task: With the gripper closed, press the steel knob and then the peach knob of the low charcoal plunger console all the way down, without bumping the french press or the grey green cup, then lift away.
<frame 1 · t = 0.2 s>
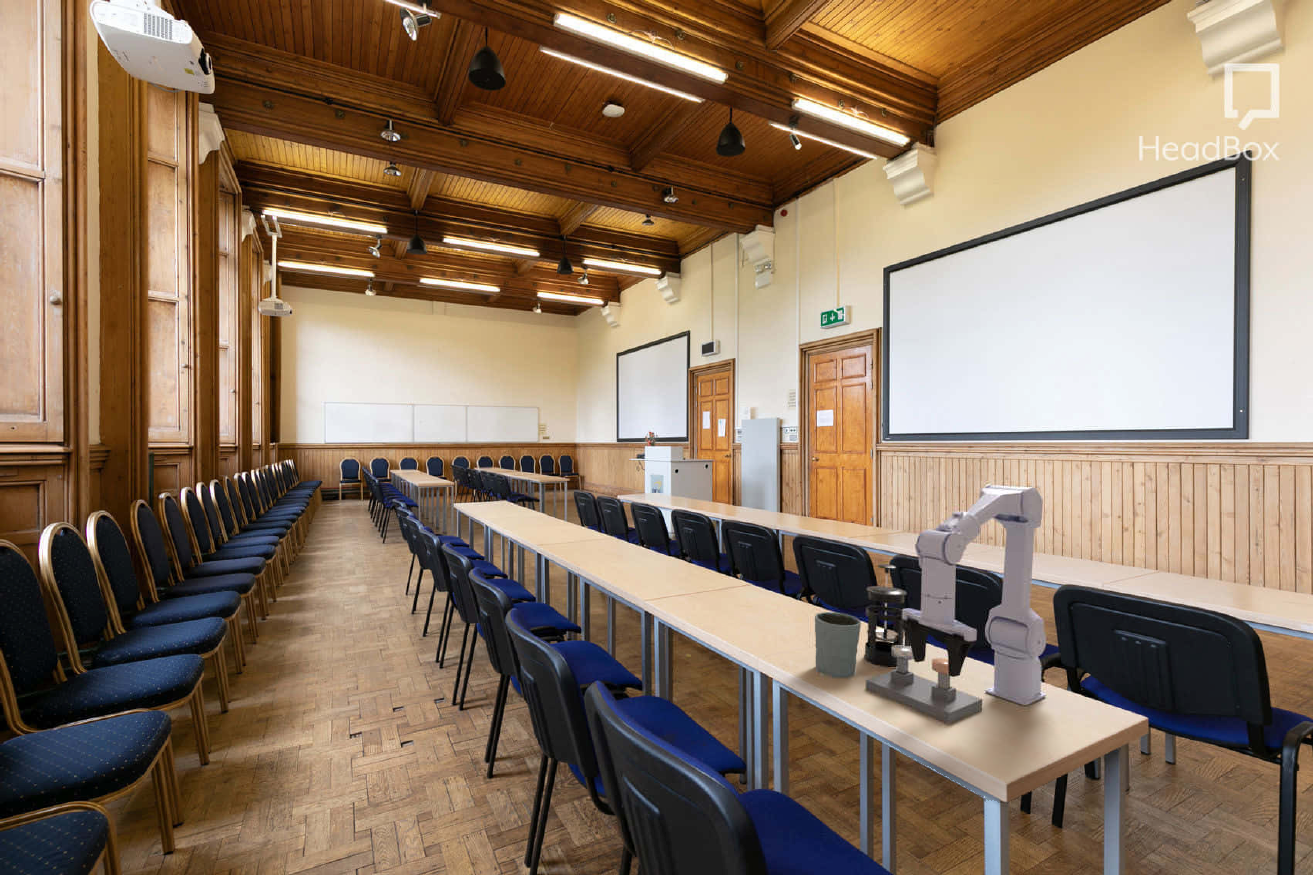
hand: (936, 668, 110), 10 cm above the table, tool pointing down, fingers open, 7 cm apart
french press: (886, 662, 142), on the table
grey green cup: (836, 671, 134), on the table
peach knob: (944, 676, 117), point 6 cm above the table, slide at 3.0 cm
steel plunger: (902, 661, 124), point 6 cm above the table, slide at 3.0 cm
console: (921, 698, 120), on the table
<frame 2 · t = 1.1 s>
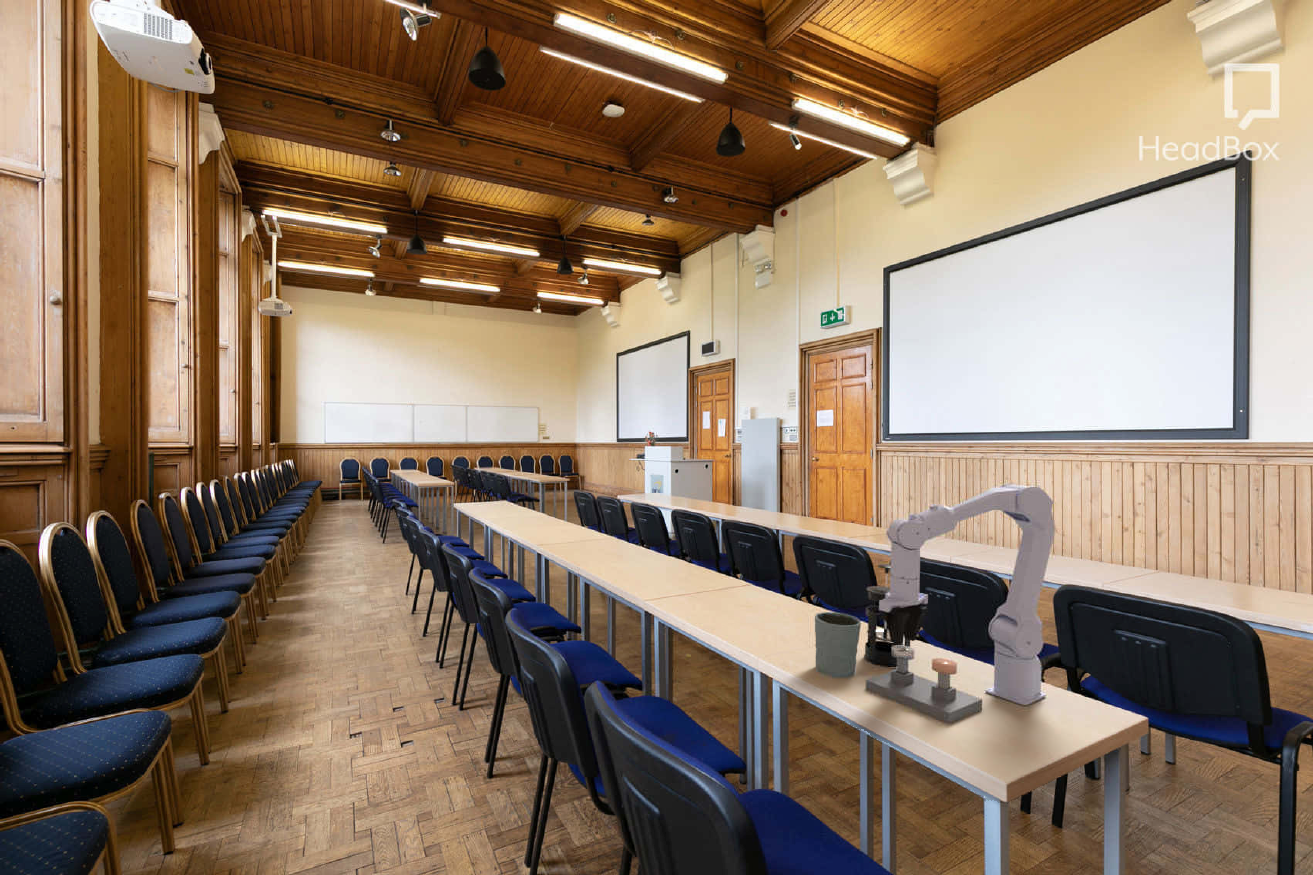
hand: (903, 641, 124), 10 cm above the table, tool pointing down, fingers open, 4 cm apart
nothing on the table moved.
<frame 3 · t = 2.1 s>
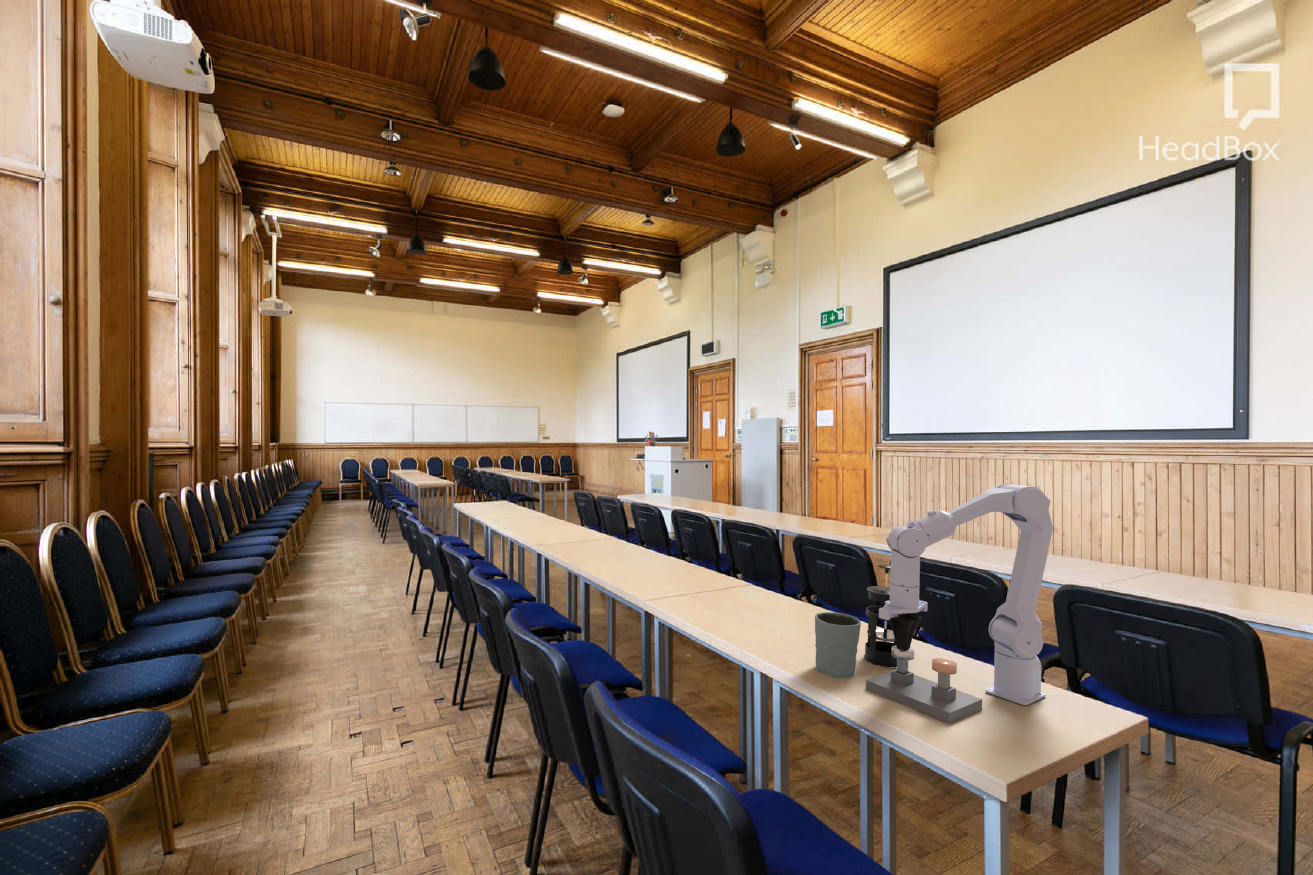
hand: (902, 649, 124), 9 cm above the table, tool pointing down, fingers closed, pressing on steel plunger
steel plunger: (902, 662, 124), point 6 cm above the table, slide at 2.9 cm, touching gripper
everything else where it was.
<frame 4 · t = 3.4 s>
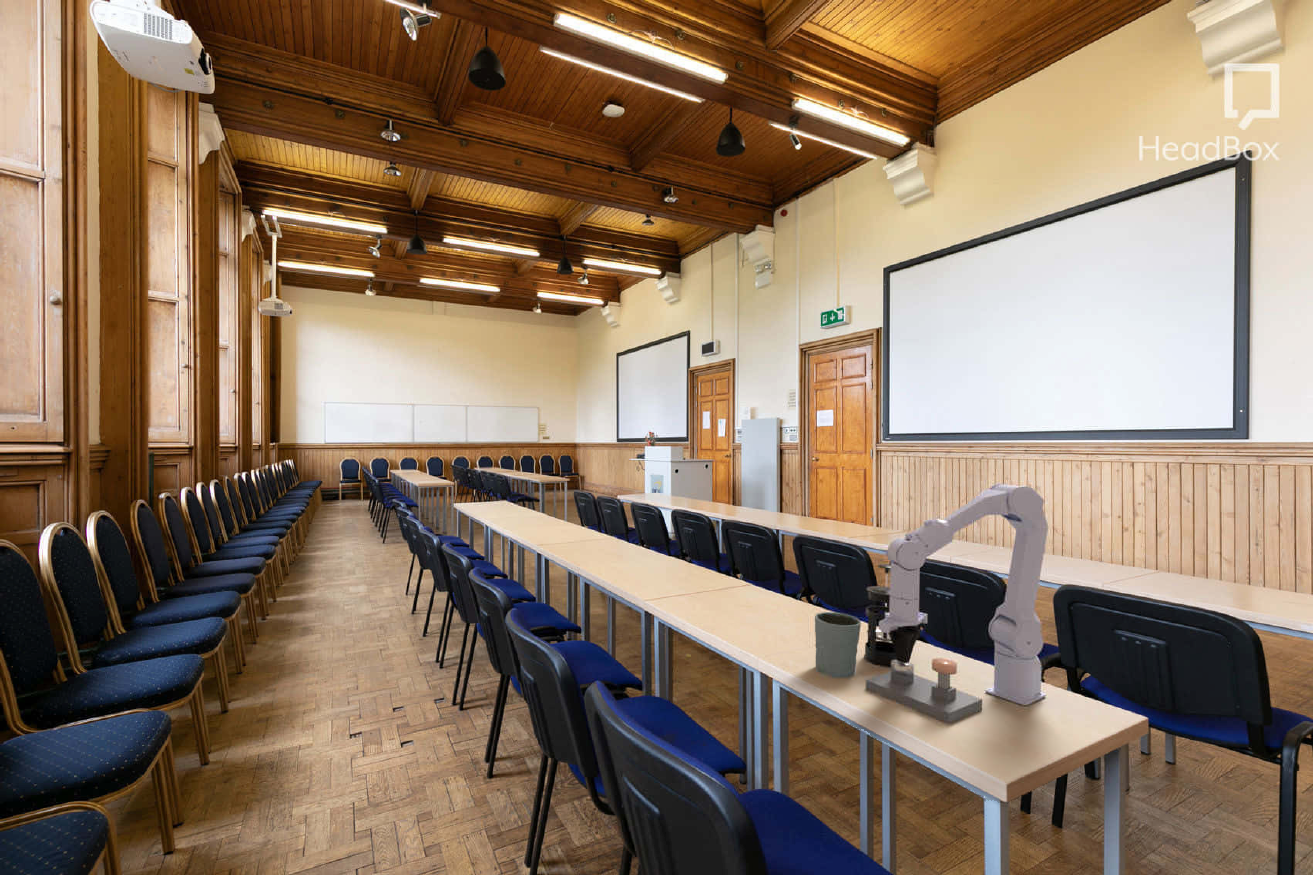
hand: (902, 661, 124), 6 cm above the table, tool pointing down, fingers closed
steel plunger: (902, 676, 124), point 3 cm above the table, slide at -0.1 cm
everything else where it was.
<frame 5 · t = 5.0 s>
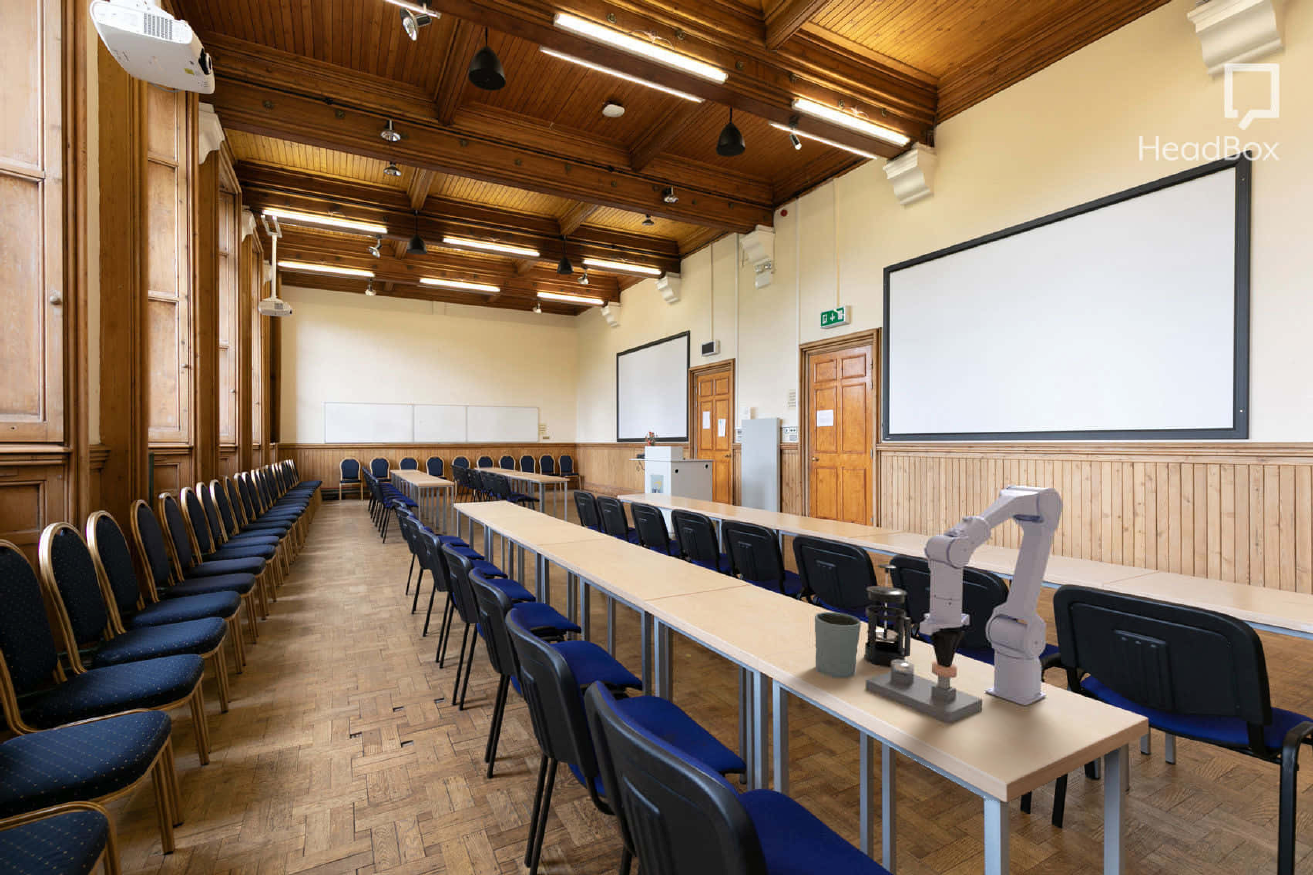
hand: (944, 665, 117), 8 cm above the table, tool pointing down, fingers closed, pressing on peach knob
peach knob: (943, 679, 117), point 5 cm above the table, slide at 2.4 cm, touching gripper
everything else where it was.
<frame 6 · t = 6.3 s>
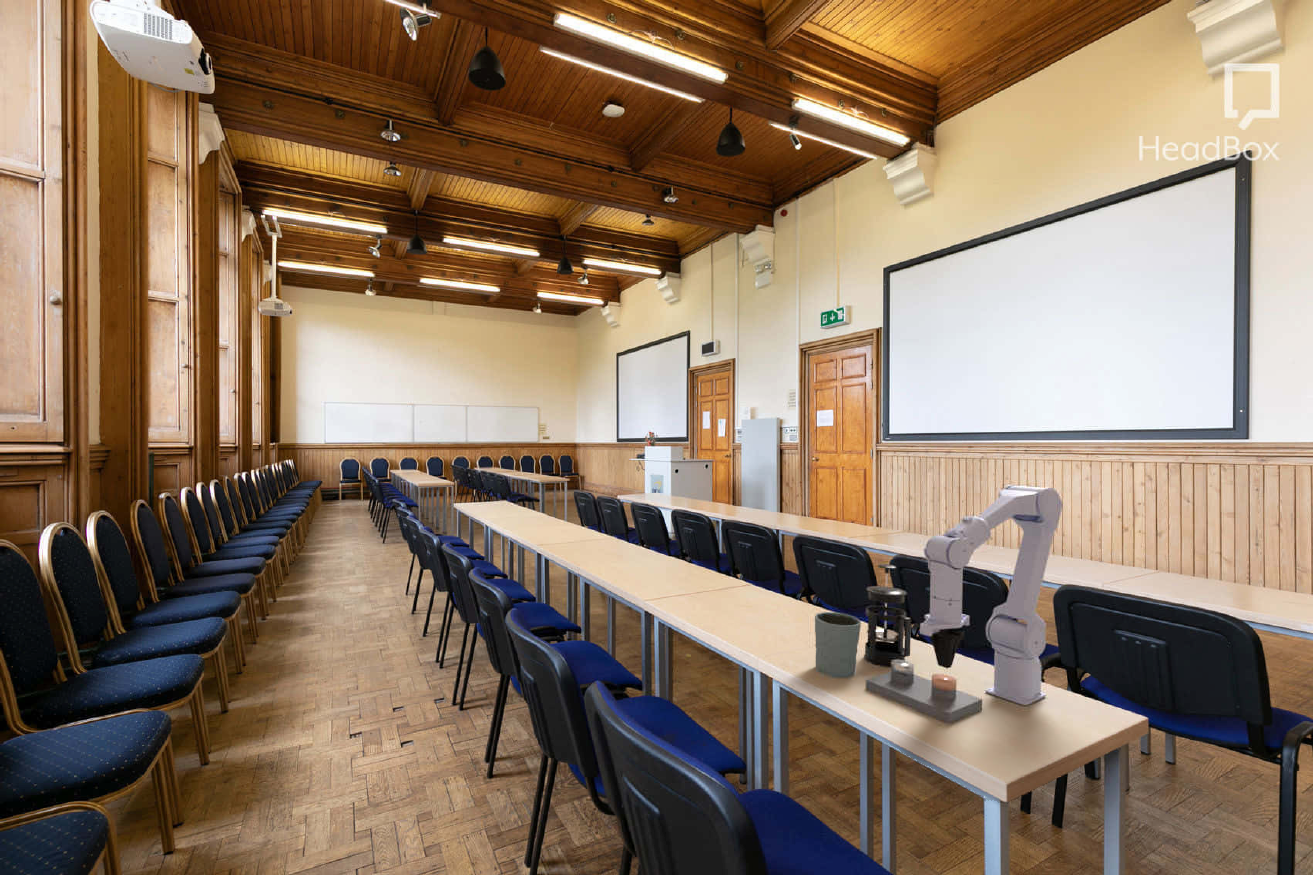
hand: (944, 666, 117), 8 cm above the table, tool pointing down, fingers closed
peach knob: (943, 692, 117), point 3 cm above the table, slide at -0.1 cm
everything else where it was.
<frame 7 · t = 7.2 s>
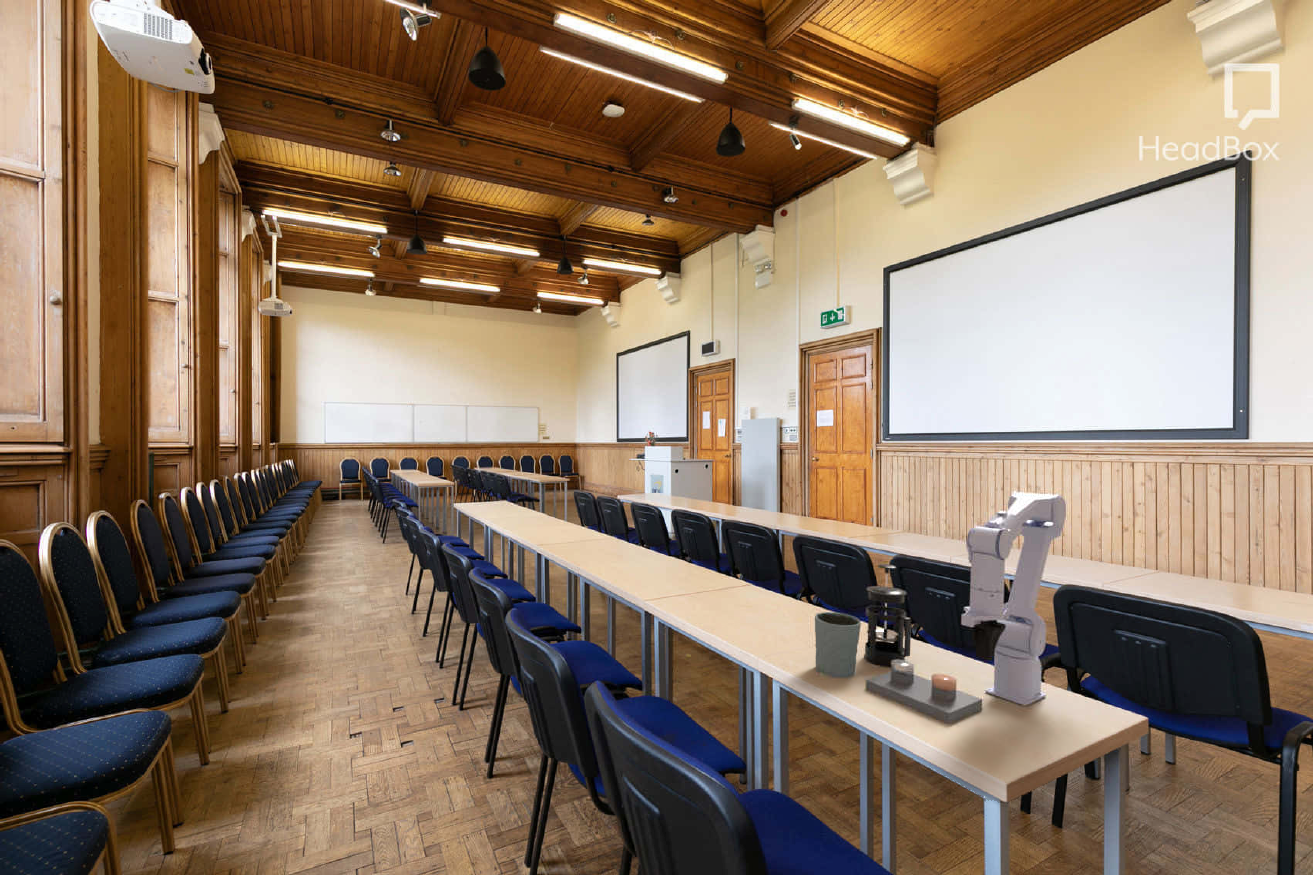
hand: (984, 659, 115), 10 cm above the table, tool pointing down, fingers closed
nothing on the table moved.
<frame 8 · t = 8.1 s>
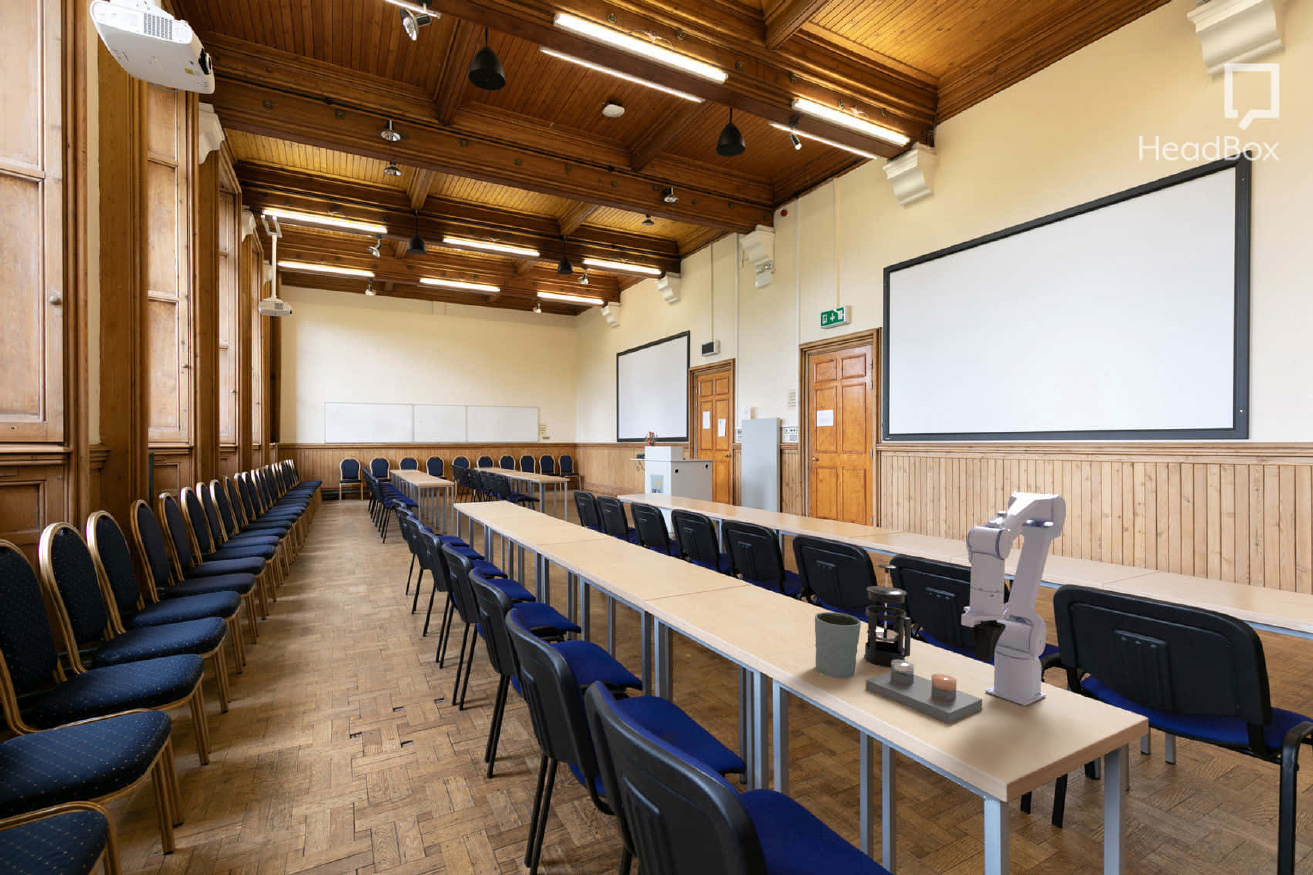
hand: (984, 659, 115), 10 cm above the table, tool pointing down, fingers closed
nothing on the table moved.
at the end: steel plunger slide at -0.1 cm; peach knob slide at -0.1 cm; french press moved 0.2 cm from its start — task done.
